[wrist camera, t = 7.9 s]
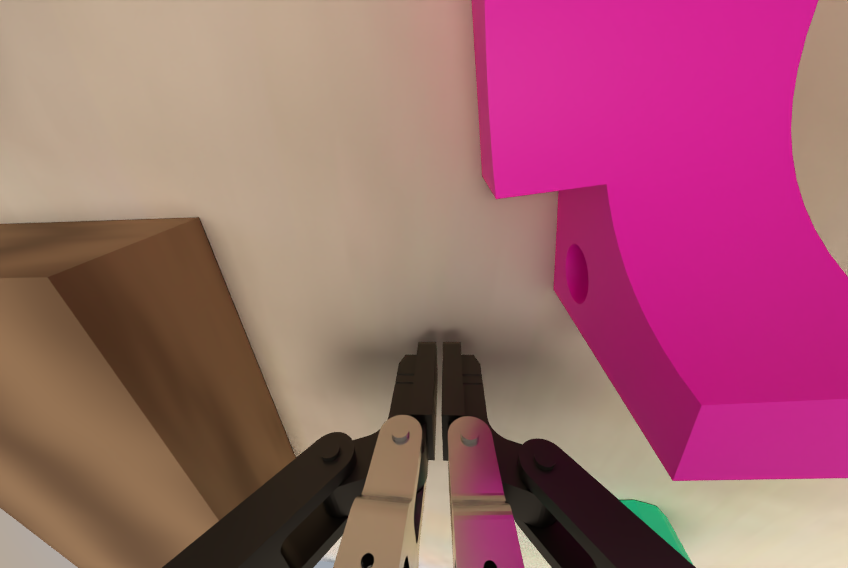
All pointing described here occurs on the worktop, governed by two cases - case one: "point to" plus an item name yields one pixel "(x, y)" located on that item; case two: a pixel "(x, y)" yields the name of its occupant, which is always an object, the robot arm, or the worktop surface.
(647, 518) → the candle
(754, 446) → the magenta bracket
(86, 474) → the walnut plinth
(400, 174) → the worktop surface
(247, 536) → the robot arm
